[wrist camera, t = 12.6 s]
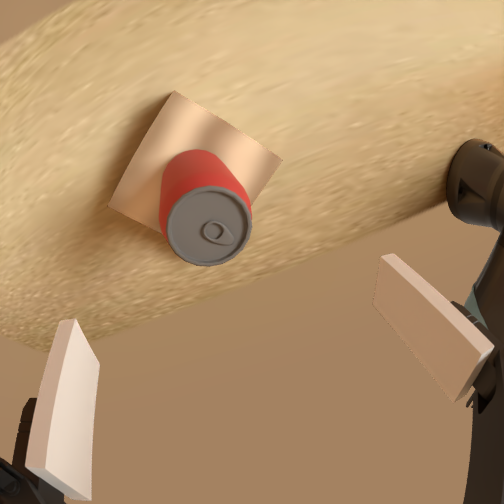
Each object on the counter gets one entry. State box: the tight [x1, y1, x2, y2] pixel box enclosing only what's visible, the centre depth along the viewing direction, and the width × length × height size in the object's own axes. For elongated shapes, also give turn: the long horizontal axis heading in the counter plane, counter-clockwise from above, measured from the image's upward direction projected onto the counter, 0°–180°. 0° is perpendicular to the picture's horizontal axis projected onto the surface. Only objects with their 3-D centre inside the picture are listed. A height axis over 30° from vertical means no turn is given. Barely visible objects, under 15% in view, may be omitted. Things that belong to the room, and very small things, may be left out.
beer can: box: [158, 149, 252, 267], centre depth 25 cm, size 7×7×12 cm
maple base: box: [108, 91, 283, 234], centre depth 32 cm, size 13×13×4 cm
